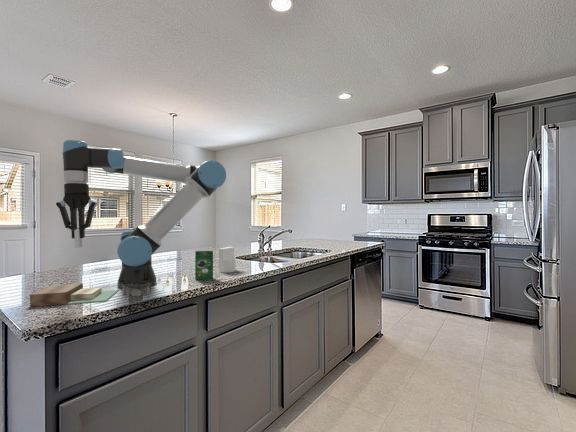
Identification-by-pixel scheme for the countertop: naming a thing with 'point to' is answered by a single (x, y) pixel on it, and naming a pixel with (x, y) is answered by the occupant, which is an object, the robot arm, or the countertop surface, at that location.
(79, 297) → the tile
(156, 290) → the countertop surface
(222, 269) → the white upright block
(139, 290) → the egg carton
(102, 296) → the mat
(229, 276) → the countertop surface
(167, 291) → the countertop surface
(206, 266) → the coffee box
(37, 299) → the tan wooden block
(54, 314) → the countertop surface
